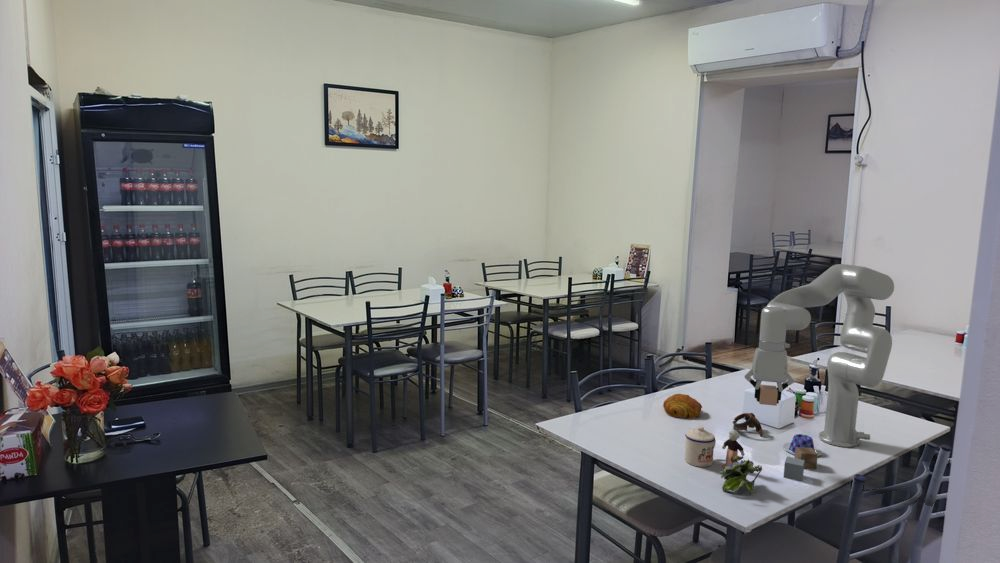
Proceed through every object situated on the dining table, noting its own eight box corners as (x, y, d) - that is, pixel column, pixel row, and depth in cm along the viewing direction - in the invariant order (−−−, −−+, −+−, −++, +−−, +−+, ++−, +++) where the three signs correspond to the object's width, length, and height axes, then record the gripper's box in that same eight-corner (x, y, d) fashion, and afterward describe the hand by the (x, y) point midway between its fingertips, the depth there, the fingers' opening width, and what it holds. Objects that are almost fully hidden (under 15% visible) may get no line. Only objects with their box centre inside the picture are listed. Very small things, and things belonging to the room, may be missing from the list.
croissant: (657, 419, 250) (657, 400, 248) (672, 403, 262) (672, 385, 260) (694, 426, 241) (694, 407, 239) (707, 410, 253) (707, 391, 251)
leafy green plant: (733, 500, 192) (748, 463, 195) (760, 510, 182) (776, 472, 185) (707, 483, 189) (723, 446, 192) (733, 493, 179) (750, 454, 182)
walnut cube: (810, 462, 207) (811, 447, 206) (816, 469, 202) (817, 454, 201) (794, 461, 208) (795, 447, 207) (799, 468, 203) (801, 453, 202)
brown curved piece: (763, 441, 225) (753, 422, 224) (737, 447, 230) (727, 428, 229) (767, 422, 234) (757, 404, 233) (742, 428, 240) (732, 410, 239)
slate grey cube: (803, 475, 198) (804, 460, 197) (801, 481, 193) (802, 466, 193) (785, 471, 200) (787, 456, 199) (783, 477, 196) (784, 462, 195)
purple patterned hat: (780, 442, 224) (782, 428, 223) (818, 447, 220) (820, 432, 219) (784, 456, 212) (785, 441, 212) (824, 461, 209) (825, 446, 208)
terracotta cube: (774, 400, 206) (775, 385, 205) (776, 405, 201) (777, 390, 201) (758, 399, 208) (759, 384, 207) (759, 404, 203) (760, 388, 202)
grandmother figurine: (717, 466, 203) (719, 428, 201) (722, 462, 206) (725, 425, 204) (741, 474, 198) (744, 434, 196) (746, 470, 200) (749, 431, 198)
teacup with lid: (700, 470, 200) (702, 434, 198) (677, 459, 207) (679, 425, 206) (725, 461, 206) (727, 427, 205) (702, 451, 214) (704, 418, 212)
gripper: (799, 345, 203) (794, 400, 206) (742, 341, 208) (738, 395, 210) (803, 351, 196) (798, 408, 199) (744, 346, 200) (739, 402, 203)
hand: (767, 400), depth 204 cm, fingers closed on terracotta cube, 5 cm apart
